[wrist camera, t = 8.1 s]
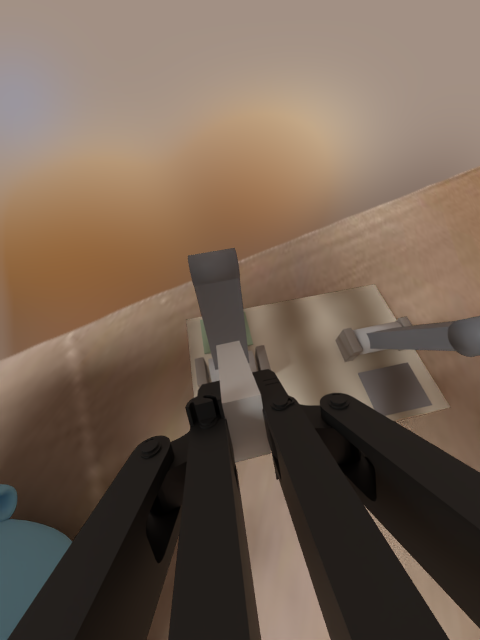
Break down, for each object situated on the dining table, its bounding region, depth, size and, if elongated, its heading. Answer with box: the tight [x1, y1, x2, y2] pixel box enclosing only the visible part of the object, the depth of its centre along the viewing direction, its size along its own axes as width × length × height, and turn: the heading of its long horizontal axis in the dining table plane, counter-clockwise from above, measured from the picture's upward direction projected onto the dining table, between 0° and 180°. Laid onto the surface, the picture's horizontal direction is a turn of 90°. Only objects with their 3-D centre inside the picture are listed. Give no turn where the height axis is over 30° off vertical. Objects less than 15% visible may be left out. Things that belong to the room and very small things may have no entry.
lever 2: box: [353, 316, 480, 357], centre depth 18 cm, size 4×2×12 cm, turn 101°
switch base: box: [186, 284, 451, 450], centre depth 24 cm, size 22×14×5 cm, turn 101°
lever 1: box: [188, 248, 257, 382], centre depth 19 cm, size 4×2×12 cm, turn 101°
